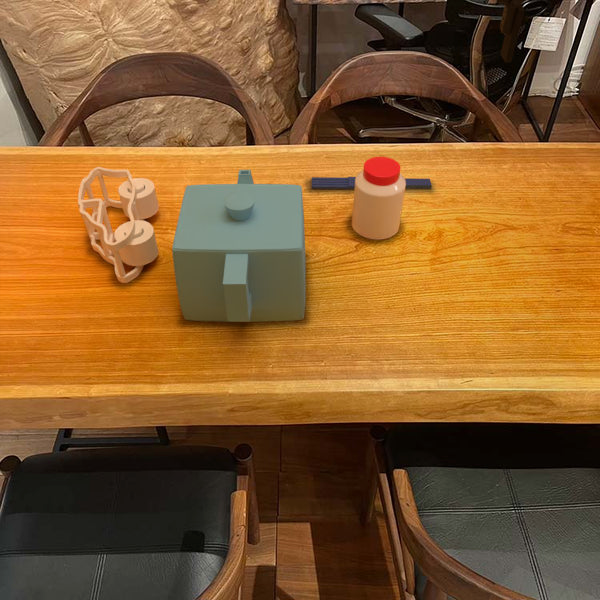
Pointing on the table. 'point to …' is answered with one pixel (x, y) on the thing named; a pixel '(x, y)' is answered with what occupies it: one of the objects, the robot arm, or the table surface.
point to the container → (241, 252)
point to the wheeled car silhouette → (129, 236)
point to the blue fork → (350, 183)
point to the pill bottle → (378, 198)
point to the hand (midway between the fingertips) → (557, 59)
